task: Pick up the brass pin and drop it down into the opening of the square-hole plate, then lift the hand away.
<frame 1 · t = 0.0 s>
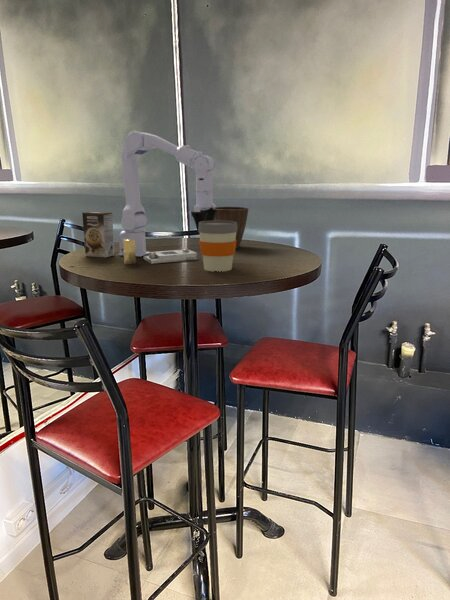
hand: (204, 231, 166), 10 cm above the table, tool pointing down, fingers open, 7 cm apart
brass pin: (130, 263, 162), on the table
square-hole plate: (168, 259, 168), on the table
reusable coffee cup: (218, 269, 153), on the table
coffee box: (100, 256, 176), on the table
plant pot: (230, 247, 194), on the table
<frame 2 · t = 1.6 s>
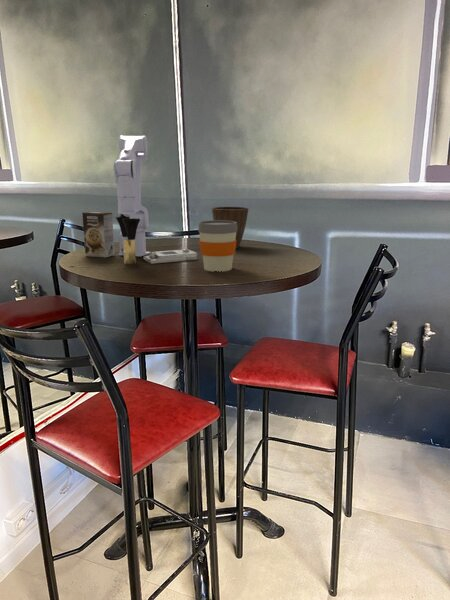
hand: (128, 238, 160), 9 cm above the table, tool pointing down, fingers open, 7 cm apart
nothing on the table moved.
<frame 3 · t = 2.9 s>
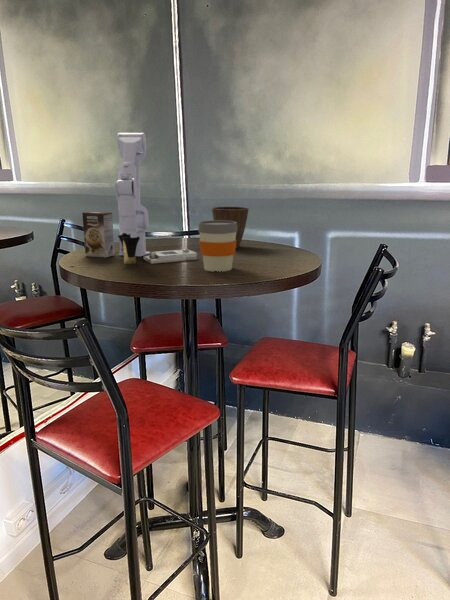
hand: (129, 256, 161), 2 cm above the table, tool pointing down, fingers closed on brass pin, 4 cm apart
brass pin: (130, 263, 162), on the table, touching gripper
everything else where it was.
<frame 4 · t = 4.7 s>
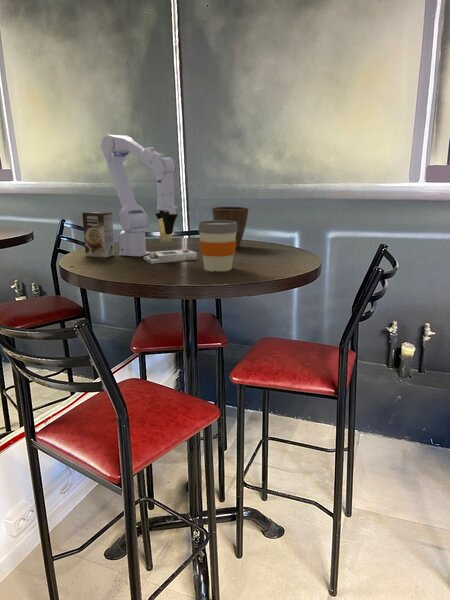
hand: (166, 233, 165), 9 cm above the table, tool pointing down, fingers closed on brass pin, 4 cm apart
brass pin: (166, 241, 166), point 7 cm above the table, touching gripper
everything else where it was.
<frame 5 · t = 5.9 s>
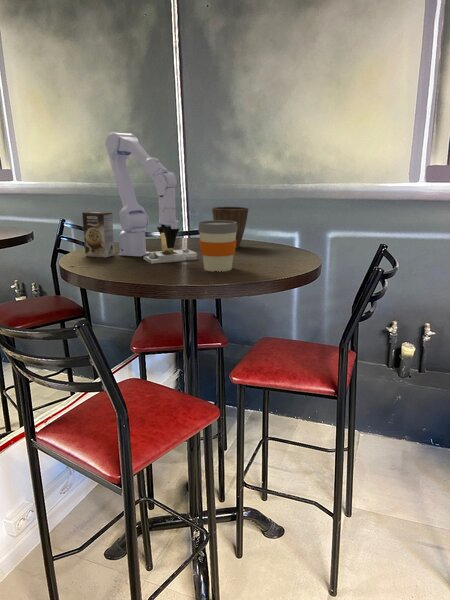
hand: (168, 247, 167), 4 cm above the table, tool pointing down, fingers closed on brass pin, 4 cm apart
brass pin: (167, 255, 167), point 2 cm above the table, touching gripper
everything else where it was.
when the fingers open (4 cm above the table, at t = 6.5 s): brass pin drops 1 cm, resting in square-hole plate.
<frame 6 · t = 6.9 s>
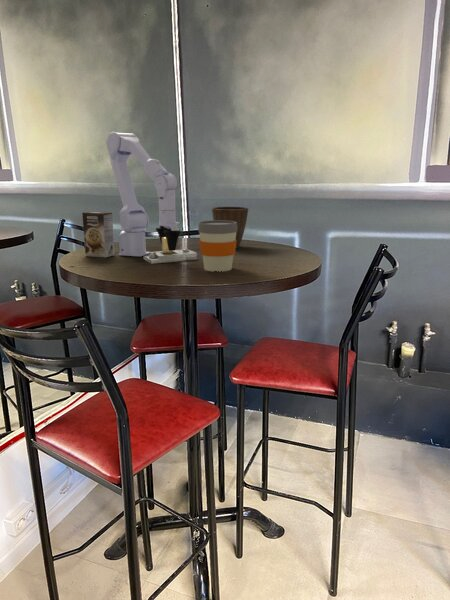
hand: (168, 248, 167), 4 cm above the table, tool pointing down, fingers open, 7 cm apart
brass pin: (168, 259, 168), resting in square-hole plate
everything else where it was.
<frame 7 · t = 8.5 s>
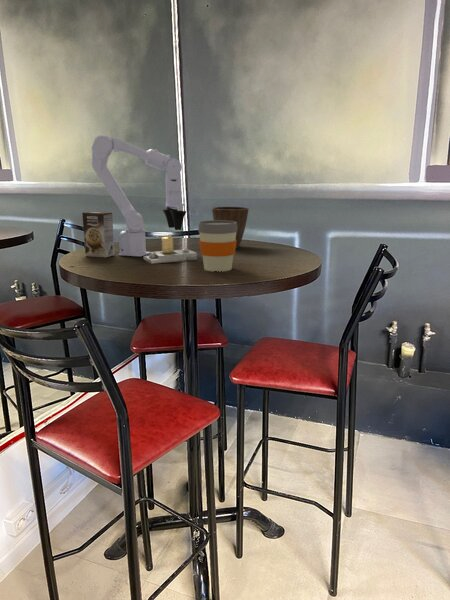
hand: (174, 228, 178), 9 cm above the table, tool pointing down, fingers open, 7 cm apart
nothing on the table moved.
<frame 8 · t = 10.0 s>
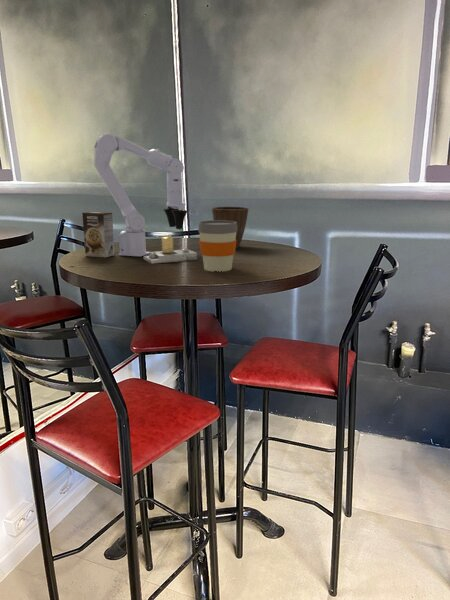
hand: (175, 227, 180), 9 cm above the table, tool pointing down, fingers open, 7 cm apart
nothing on the table moved.
at the end: brass pin 0.3 cm off-centre on the square-hole plate, point 0.0 cm above the square-hole plate's base; brass pin tilted 0°; the gripper is holding nothing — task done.
